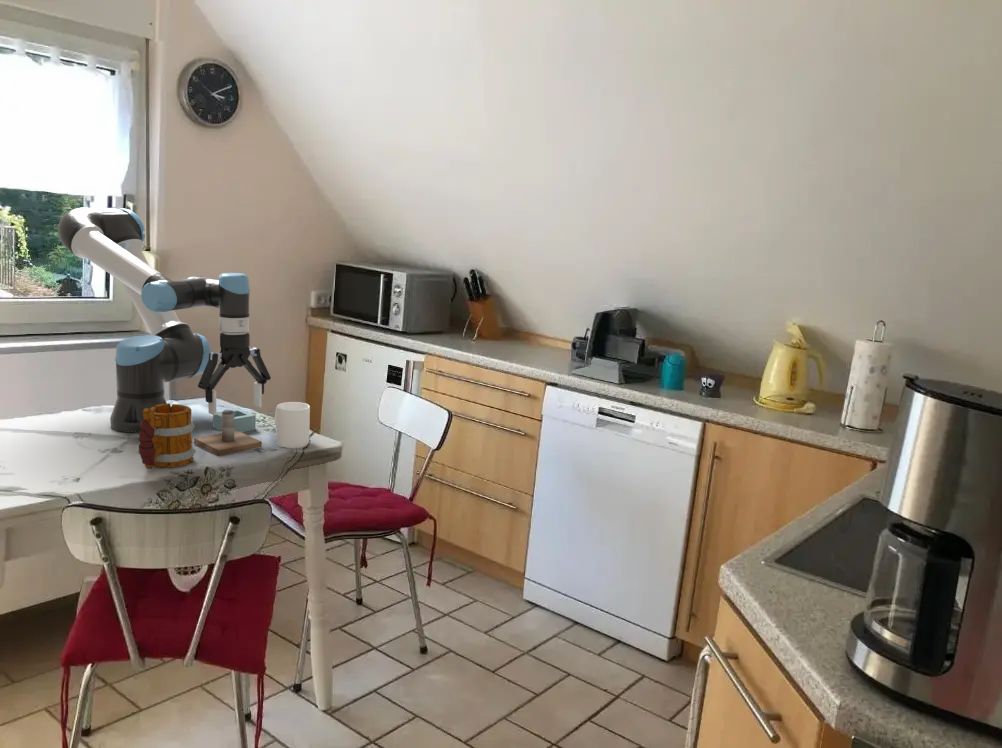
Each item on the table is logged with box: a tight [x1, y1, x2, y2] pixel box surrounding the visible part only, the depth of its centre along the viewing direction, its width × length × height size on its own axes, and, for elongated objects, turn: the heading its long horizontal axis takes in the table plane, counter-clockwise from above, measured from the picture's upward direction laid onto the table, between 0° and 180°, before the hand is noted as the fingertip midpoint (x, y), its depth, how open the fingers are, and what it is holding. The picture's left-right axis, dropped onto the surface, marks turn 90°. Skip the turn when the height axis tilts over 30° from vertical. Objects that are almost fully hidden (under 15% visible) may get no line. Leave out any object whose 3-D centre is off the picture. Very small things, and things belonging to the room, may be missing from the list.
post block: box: [193, 409, 263, 457], centre depth 216 cm, size 12×12×9 cm
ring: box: [212, 408, 257, 433], centre depth 231 cm, size 8×8×4 cm
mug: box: [138, 403, 197, 470], centre depth 199 cm, size 11×16×15 cm, turn 167°
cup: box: [273, 401, 311, 449], centre depth 222 cm, size 8×12×10 cm
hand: (235, 410), depth 230 cm, fingers open, 13 cm apart
